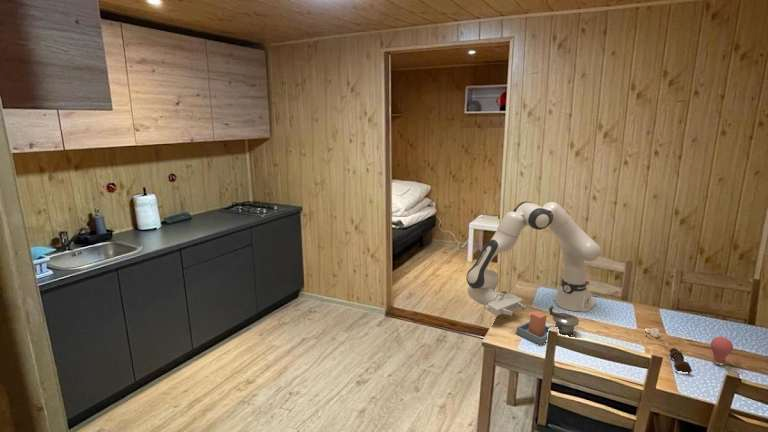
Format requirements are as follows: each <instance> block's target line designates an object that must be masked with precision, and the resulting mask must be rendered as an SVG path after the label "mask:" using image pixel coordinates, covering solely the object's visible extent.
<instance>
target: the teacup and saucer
mask: <svg viewBox="0 0 768 432" xmlns="http://www.w3.org/2000/svg"><path fill="white" fill-rule="evenodd" d="M644 330H645V331H646V332H649V331H647V330H650V331H651V334H650V336H651V335H654V336H656V338H657V337H659V336H658V334H659V333H660V330H659V328H655V327H651V328H647V327H646V328H644ZM645 331H644V332H645Z"/></svg>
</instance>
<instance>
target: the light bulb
mask: <svg viewBox="0 0 768 432" xmlns="http://www.w3.org/2000/svg"><path fill="white" fill-rule="evenodd" d="M733 345H734V344H733V343H732V341H731V340H729V339H728V338H727V337H723V336H717V337H714V338H713V339H711V341H710V347H711V350H712V353H713V355H712V356H713V361H716V362H718V363H726V359H727V357H728V356H729V355H731V354H732V352H733V350H734V346H733Z"/></svg>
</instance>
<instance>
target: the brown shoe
mask: <svg viewBox="0 0 768 432" xmlns="http://www.w3.org/2000/svg"><path fill="white" fill-rule="evenodd" d="M669 357H670V358H673V359H674V361H673V362H674V363H675V364H673V367H674V369H675V371H676V370H677V371H682V372H688V373H689V374H691V372H692V371H693V370H692V368H691V365H690V363H689V361H685V357H684V354H683V353H682V351H681V350H678V349H677V348H673V347H671V348H670V350H669ZM677 371H676V372H677Z"/></svg>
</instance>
